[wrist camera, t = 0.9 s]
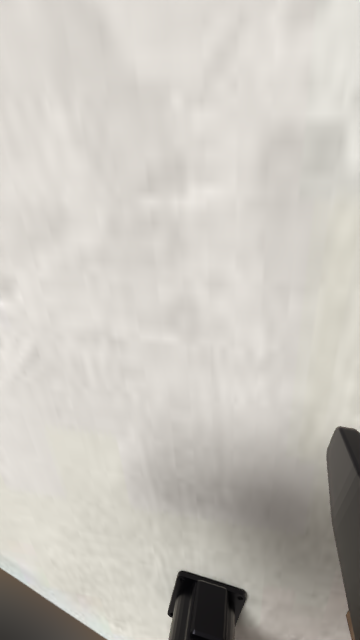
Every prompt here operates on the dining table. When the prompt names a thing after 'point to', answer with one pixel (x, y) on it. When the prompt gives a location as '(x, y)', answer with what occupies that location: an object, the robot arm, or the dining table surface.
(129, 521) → the dining table surface
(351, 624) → the button panel
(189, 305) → the dining table surface
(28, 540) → the dining table surface
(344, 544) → the robot arm
